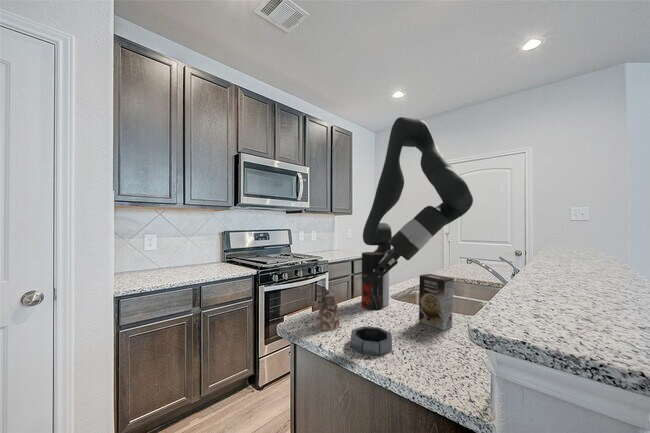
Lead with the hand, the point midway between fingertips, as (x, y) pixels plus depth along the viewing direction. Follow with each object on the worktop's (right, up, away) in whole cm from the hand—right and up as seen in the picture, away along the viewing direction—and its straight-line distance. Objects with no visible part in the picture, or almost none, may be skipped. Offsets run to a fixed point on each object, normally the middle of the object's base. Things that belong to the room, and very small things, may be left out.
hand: (366, 280), depth 78 cm
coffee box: (+26, -18, +16) cm, 35 cm away
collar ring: (+1, -18, 0) cm, 18 cm away
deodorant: (+2, -7, 0) cm, 8 cm away
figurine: (-10, -18, +13) cm, 25 cm away
